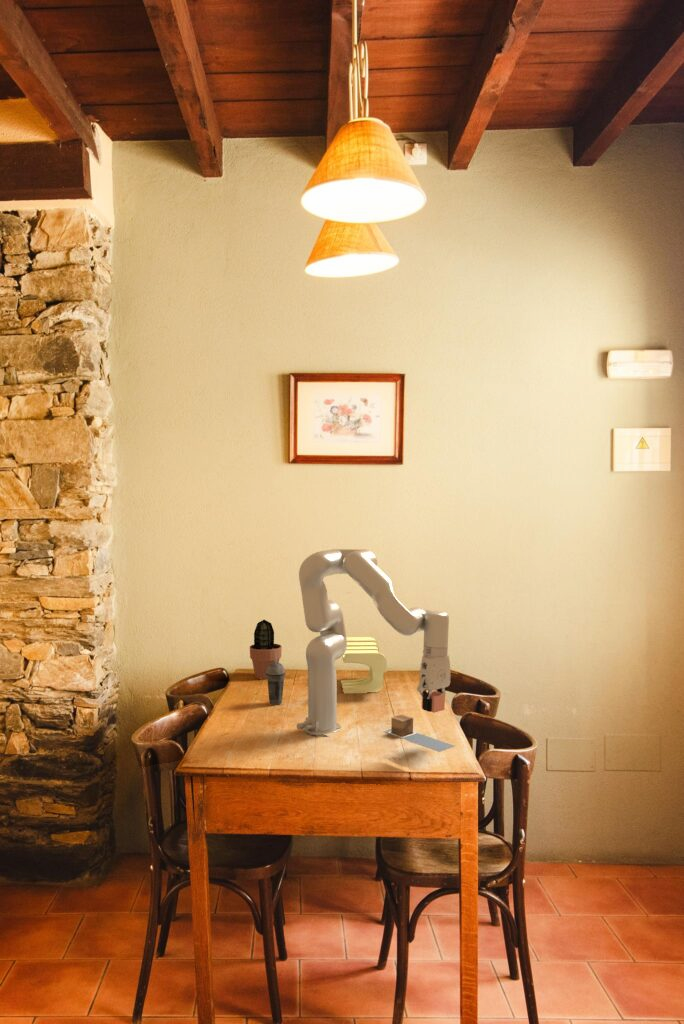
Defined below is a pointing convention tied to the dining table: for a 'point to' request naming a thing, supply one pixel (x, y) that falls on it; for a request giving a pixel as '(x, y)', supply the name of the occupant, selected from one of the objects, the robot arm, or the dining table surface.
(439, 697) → the red block
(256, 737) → the dining table surface
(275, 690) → the beverage cup
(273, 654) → the potted plant
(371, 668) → the slatted curved stool
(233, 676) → the dining table surface
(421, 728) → the dining table surface
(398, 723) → the walnut block
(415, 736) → the blueprint mat
